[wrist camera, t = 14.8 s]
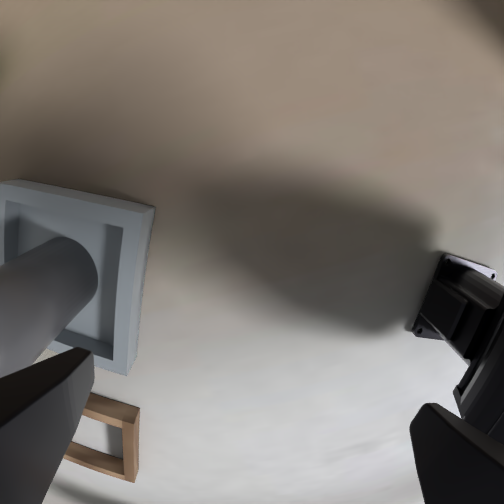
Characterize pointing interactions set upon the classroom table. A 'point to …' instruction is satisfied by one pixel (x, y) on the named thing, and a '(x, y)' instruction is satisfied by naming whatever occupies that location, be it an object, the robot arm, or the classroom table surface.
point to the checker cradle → (129, 423)
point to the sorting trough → (102, 252)
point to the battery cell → (42, 298)
